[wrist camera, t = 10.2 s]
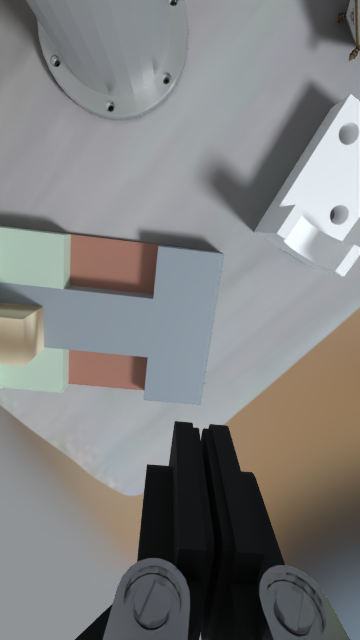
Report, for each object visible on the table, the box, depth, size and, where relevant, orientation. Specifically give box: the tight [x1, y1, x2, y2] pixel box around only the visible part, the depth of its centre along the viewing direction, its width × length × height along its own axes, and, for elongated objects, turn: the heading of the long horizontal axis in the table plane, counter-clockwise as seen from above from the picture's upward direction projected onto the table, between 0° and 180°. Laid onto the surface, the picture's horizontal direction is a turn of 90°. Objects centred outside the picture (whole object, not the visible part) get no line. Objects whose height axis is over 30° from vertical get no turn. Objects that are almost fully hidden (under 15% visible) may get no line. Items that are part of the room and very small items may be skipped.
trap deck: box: [0, 226, 224, 405], centre depth 32 cm, size 17×23×4 cm
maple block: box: [0, 303, 44, 366], centre depth 30 cm, size 4×4×4 cm
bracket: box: [254, 94, 360, 277], centre depth 28 cm, size 13×7×8 cm, turn 150°
